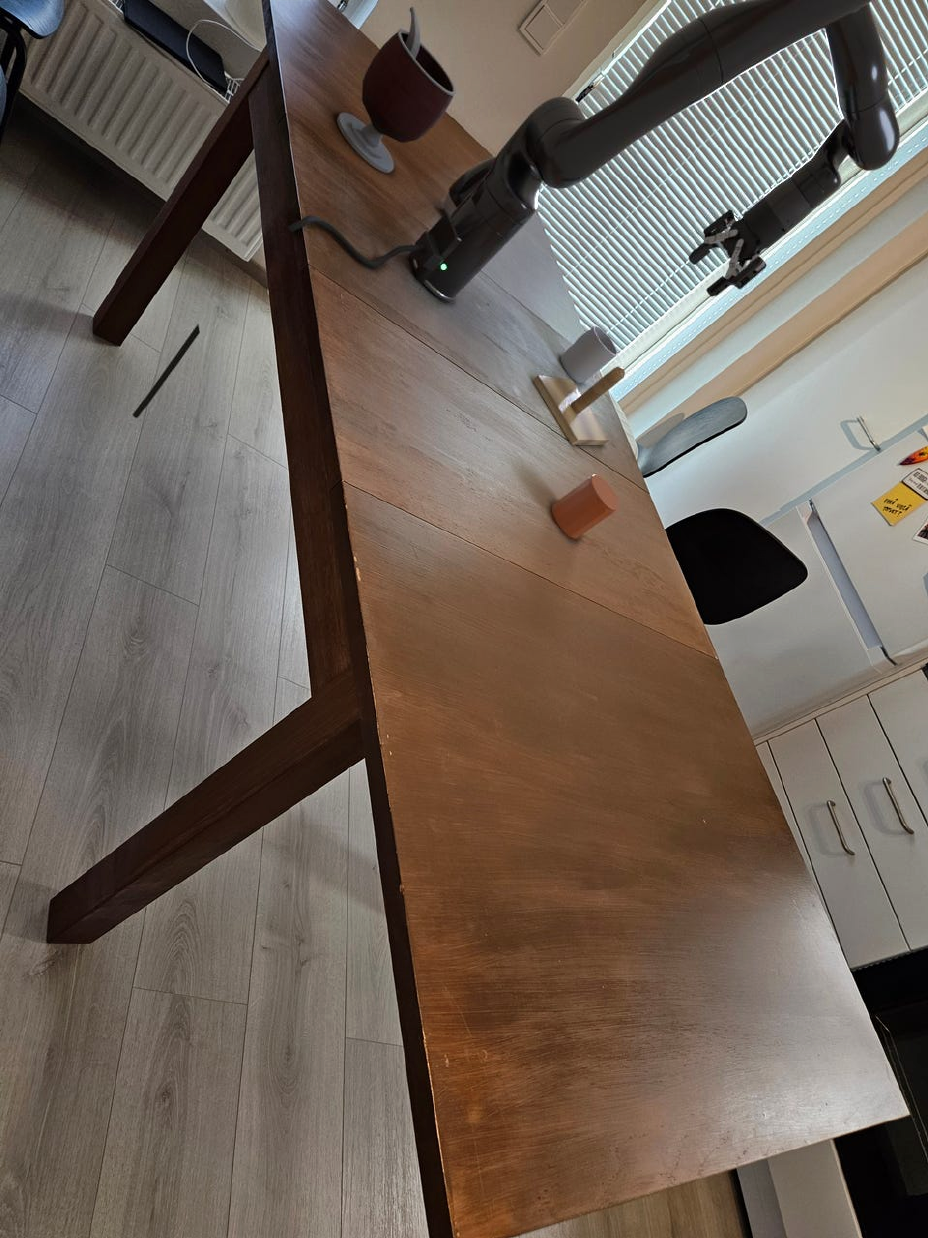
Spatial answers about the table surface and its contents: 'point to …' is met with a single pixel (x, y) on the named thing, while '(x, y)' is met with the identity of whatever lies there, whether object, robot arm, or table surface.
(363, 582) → the table surface
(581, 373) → the cup
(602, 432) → the cup stand
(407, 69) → the mate gourd
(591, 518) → the terracotta cup
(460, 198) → the pump dispenser
